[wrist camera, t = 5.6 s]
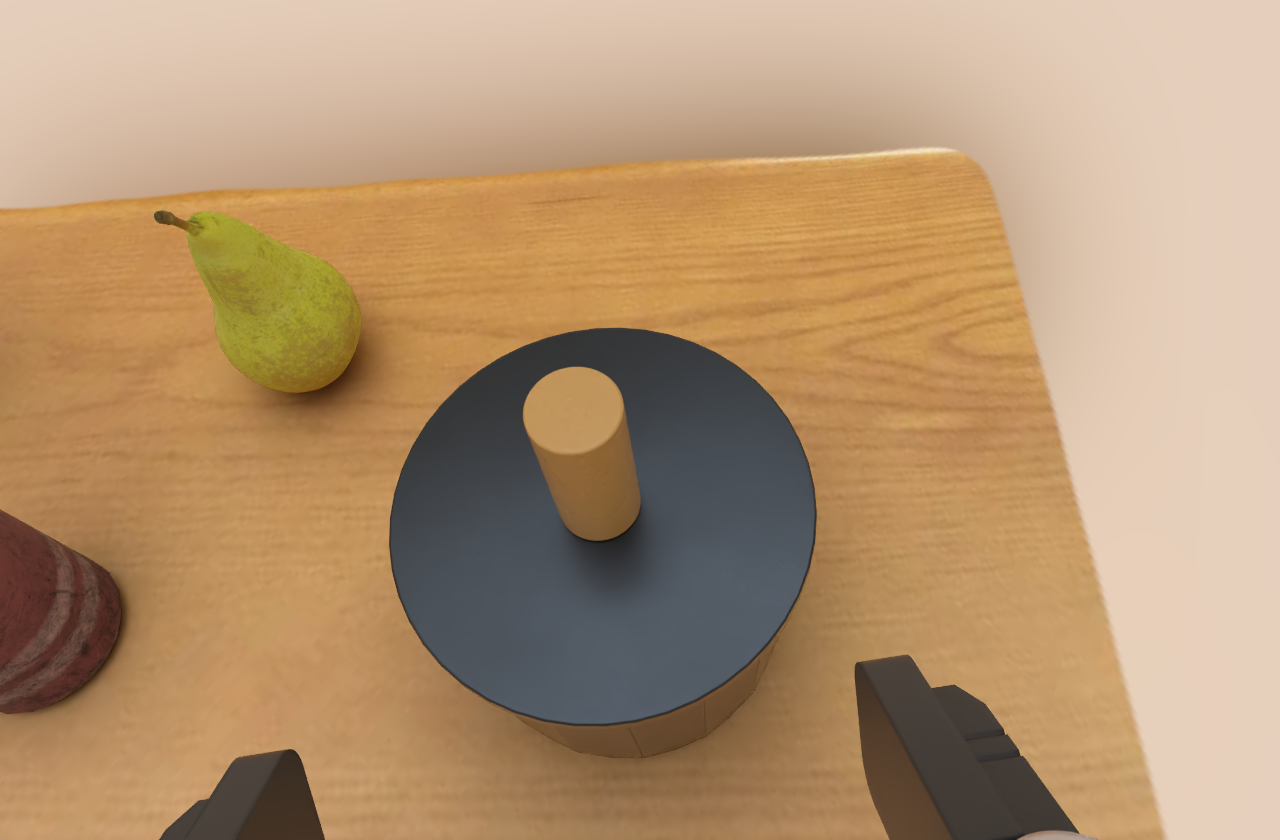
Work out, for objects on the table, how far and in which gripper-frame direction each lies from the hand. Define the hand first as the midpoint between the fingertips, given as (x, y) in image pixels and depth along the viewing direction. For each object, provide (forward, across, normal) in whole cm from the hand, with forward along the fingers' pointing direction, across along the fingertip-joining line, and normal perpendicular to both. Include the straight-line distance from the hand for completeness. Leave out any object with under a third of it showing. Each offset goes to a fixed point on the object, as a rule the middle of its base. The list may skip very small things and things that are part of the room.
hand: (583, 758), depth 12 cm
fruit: (+29, +12, -2) cm, 31 cm away
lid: (+14, 0, +2) cm, 14 cm away
